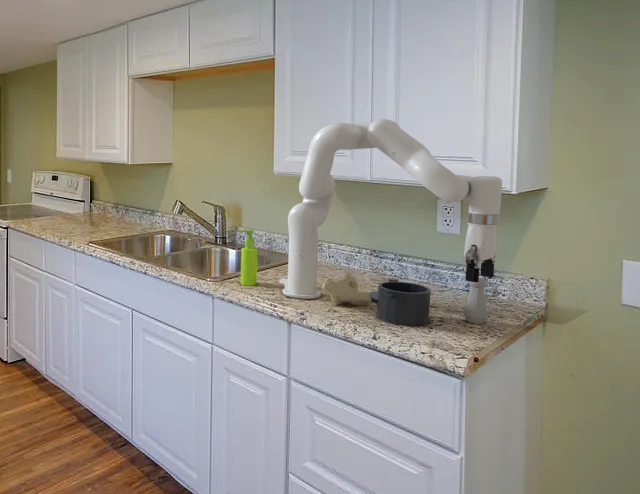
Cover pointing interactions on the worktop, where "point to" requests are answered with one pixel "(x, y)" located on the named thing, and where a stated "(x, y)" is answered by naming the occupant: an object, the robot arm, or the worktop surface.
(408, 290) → the pot
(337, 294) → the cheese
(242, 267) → the soap dispenser
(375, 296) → the lid
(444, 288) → the worktop surface
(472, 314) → the salt shaker
